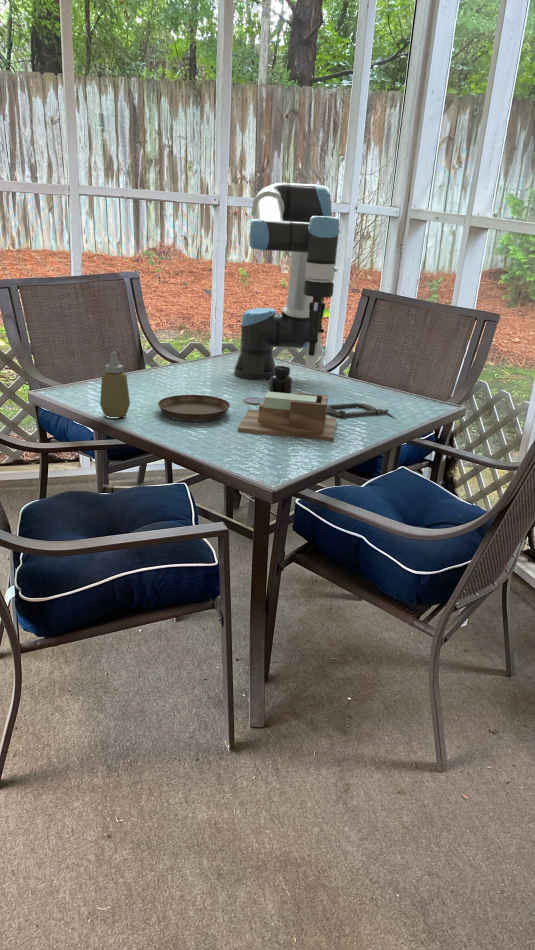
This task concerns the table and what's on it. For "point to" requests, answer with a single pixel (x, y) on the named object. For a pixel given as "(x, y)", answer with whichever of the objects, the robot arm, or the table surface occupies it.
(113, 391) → the squeeze bottle
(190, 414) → the plant saucer
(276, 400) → the bar
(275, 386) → the supplement bottle
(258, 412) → the cradle
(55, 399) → the table surface
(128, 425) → the table surface
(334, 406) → the c clamp
